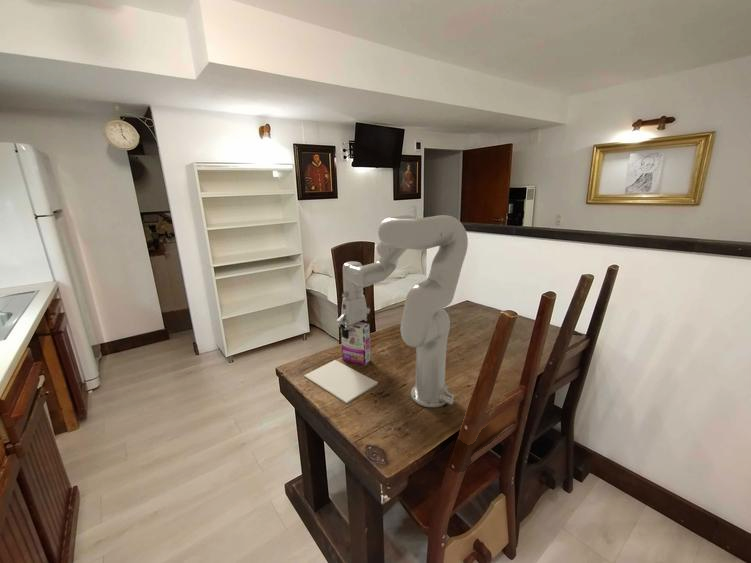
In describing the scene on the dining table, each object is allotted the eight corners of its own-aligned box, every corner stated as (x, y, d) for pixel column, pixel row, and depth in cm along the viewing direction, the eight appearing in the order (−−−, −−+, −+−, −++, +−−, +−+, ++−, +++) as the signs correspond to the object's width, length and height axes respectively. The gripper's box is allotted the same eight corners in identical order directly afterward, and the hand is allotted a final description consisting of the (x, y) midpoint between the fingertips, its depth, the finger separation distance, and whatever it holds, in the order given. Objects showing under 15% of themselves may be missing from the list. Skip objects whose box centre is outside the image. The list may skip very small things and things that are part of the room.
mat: (377, 383, 117) (377, 382, 117) (346, 403, 107) (346, 402, 107) (335, 361, 133) (334, 359, 133) (304, 376, 123) (304, 375, 122)
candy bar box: (371, 360, 133) (370, 323, 129) (365, 366, 129) (364, 328, 124) (348, 354, 138) (346, 318, 134) (341, 359, 134) (339, 323, 129)
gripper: (342, 301, 117) (344, 344, 122) (375, 290, 129) (375, 329, 134) (329, 297, 122) (331, 338, 127) (362, 286, 134) (363, 324, 139)
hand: (354, 333), depth 131 cm, fingers open, 9 cm apart
